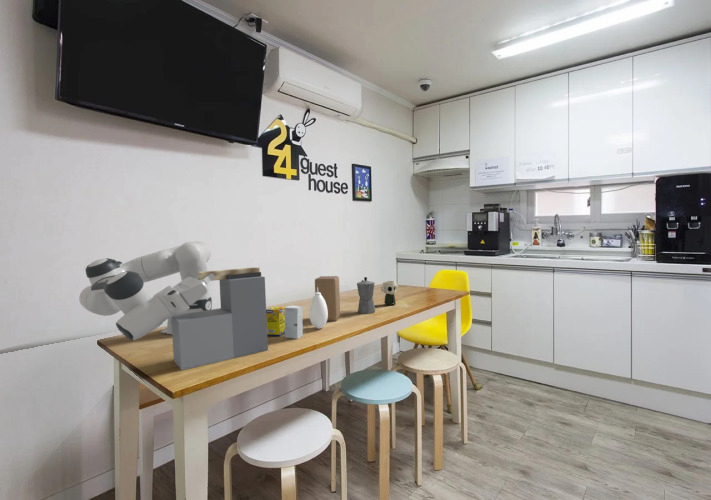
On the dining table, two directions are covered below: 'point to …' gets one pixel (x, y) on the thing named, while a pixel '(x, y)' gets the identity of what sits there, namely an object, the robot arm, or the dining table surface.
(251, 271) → the maple bar
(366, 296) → the coffeepot
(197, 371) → the dining table surface
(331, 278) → the wooden block
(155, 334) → the dining table surface
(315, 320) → the sauce bottle
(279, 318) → the supplement box
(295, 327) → the skincare box
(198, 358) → the stepped stand
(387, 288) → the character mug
